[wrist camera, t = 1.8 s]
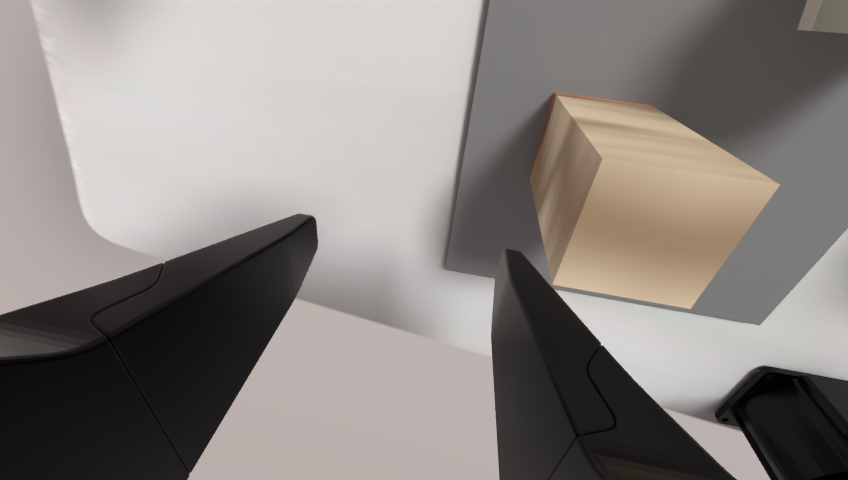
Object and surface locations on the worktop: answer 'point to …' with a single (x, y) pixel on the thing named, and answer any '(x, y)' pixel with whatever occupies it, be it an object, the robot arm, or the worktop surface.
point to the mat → (681, 100)
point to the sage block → (825, 16)
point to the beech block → (638, 201)
